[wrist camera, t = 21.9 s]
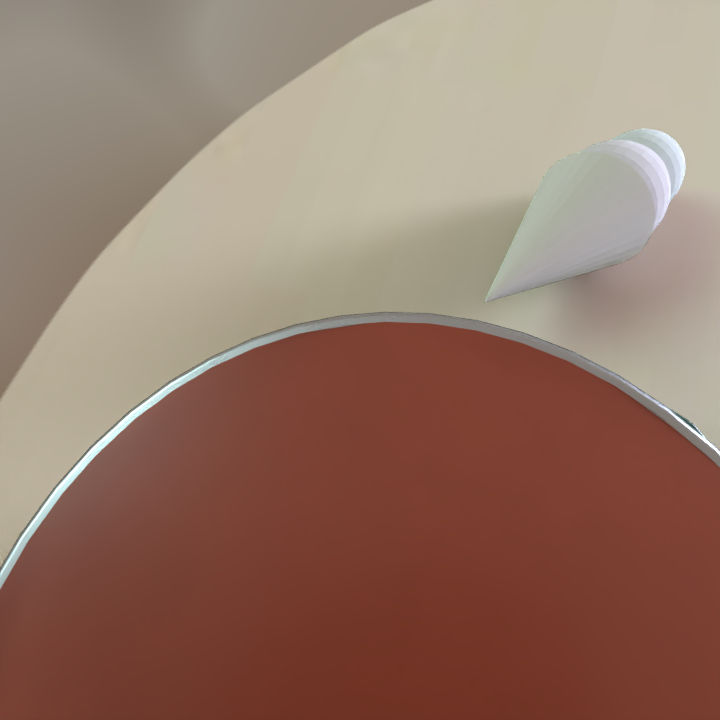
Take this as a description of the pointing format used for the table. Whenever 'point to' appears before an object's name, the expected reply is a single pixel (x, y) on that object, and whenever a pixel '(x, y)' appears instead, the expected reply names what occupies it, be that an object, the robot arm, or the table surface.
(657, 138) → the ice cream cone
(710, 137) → the table surface
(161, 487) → the tin can
